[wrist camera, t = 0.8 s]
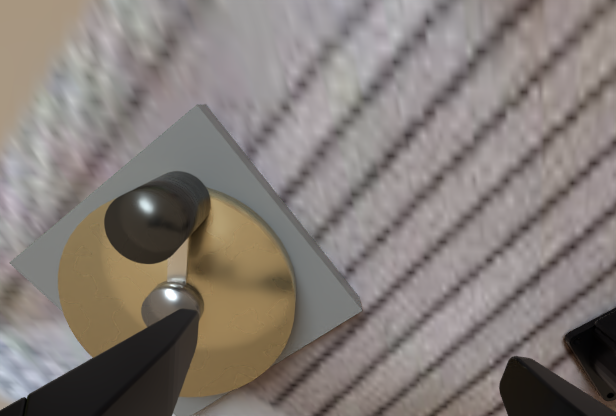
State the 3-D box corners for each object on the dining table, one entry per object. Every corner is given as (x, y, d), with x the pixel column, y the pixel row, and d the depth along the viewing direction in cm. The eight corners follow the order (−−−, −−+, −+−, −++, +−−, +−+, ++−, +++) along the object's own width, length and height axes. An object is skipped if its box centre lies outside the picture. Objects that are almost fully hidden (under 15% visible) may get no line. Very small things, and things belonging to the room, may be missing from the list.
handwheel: (339, 310, 21) (348, 381, 15) (181, 409, 23) (142, 499, 18) (193, 133, 18) (142, 147, 12) (29, 268, 20) (-71, 327, 15)
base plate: (359, 297, 22) (362, 310, 21) (189, 403, 25) (182, 421, 24) (205, 104, 19) (196, 104, 18) (29, 252, 22) (9, 262, 20)
